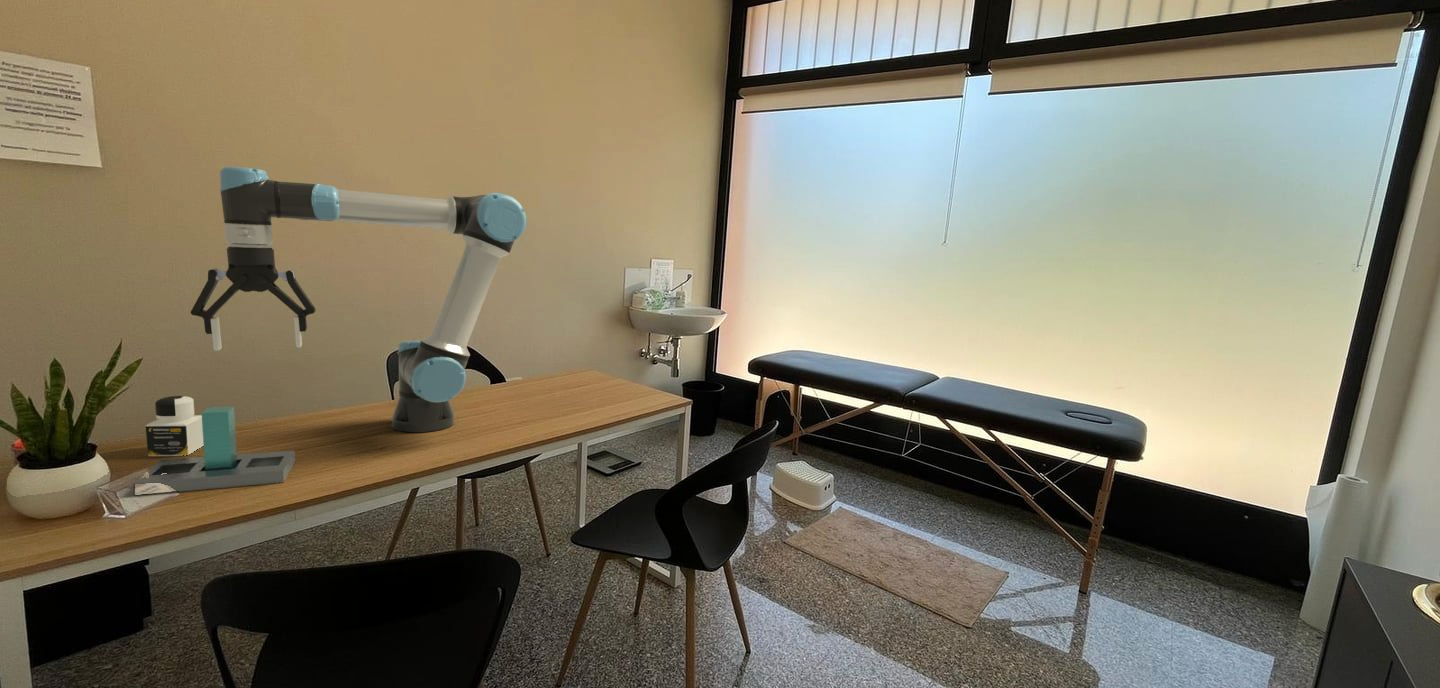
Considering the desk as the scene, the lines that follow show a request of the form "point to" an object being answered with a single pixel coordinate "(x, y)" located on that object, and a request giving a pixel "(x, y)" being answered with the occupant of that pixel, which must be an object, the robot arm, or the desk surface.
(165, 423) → the medicine bottle
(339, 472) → the desk surface
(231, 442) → the peg
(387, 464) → the desk surface
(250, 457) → the rail
